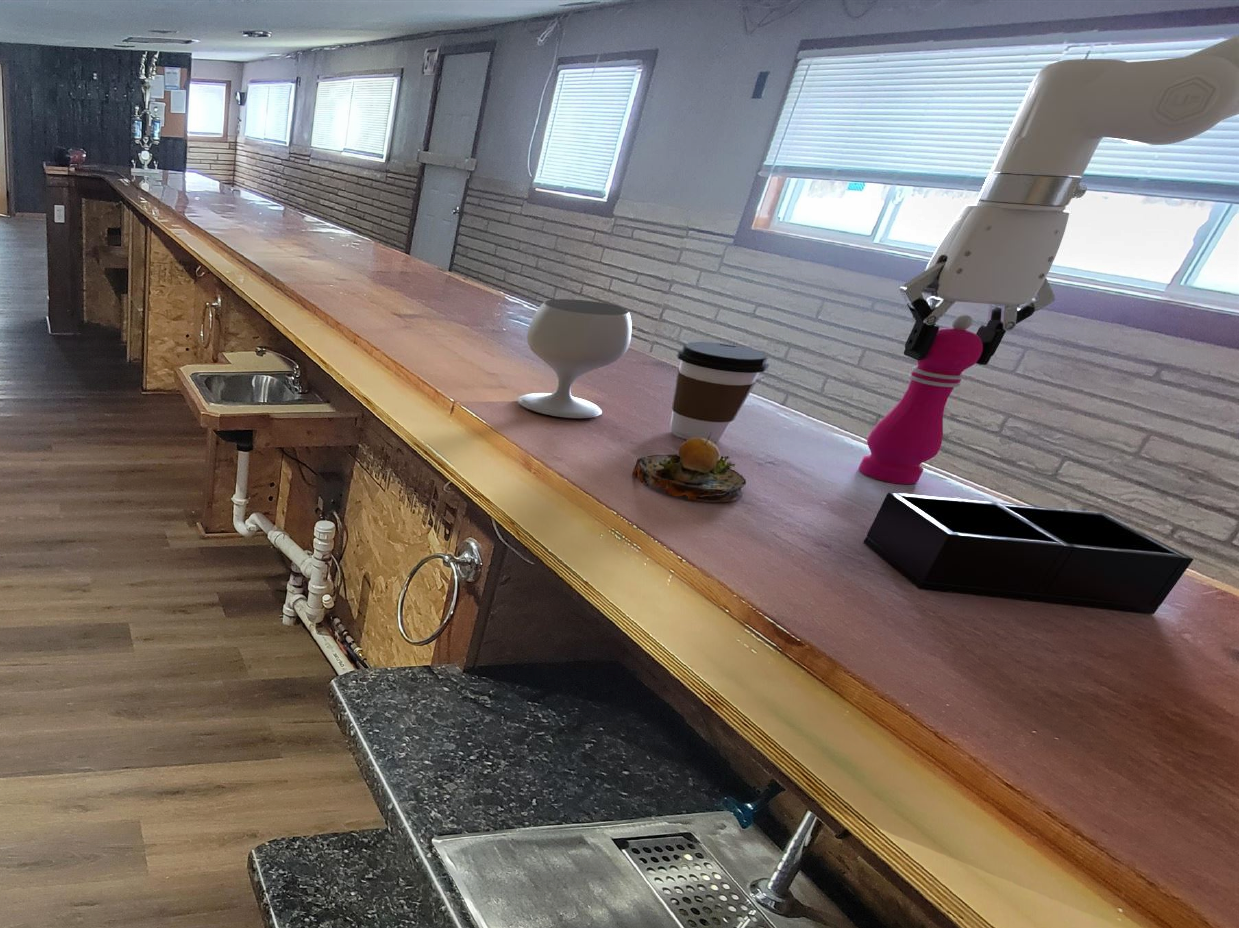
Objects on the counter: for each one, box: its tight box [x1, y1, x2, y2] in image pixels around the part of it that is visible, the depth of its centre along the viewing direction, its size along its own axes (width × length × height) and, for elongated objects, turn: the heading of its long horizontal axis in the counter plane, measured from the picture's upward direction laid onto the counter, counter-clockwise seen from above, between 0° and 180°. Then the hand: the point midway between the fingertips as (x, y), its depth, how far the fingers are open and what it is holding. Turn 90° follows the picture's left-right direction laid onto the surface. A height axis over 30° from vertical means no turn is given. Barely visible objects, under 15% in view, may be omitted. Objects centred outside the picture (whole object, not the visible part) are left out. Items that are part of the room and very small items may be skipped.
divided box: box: [863, 491, 1194, 615], centre depth 81 cm, size 20×10×6 cm, turn 80°
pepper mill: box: [858, 314, 983, 485], centre depth 102 cm, size 7×7×20 cm
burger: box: [632, 432, 747, 503], centre depth 99 cm, size 12×12×8 cm
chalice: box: [517, 298, 633, 419], centre depth 123 cm, size 14×14×15 cm
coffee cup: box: [670, 341, 770, 443], centre depth 115 cm, size 11×11×12 cm
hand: (944, 358), depth 99 cm, fingers closed on pepper mill, 6 cm apart
